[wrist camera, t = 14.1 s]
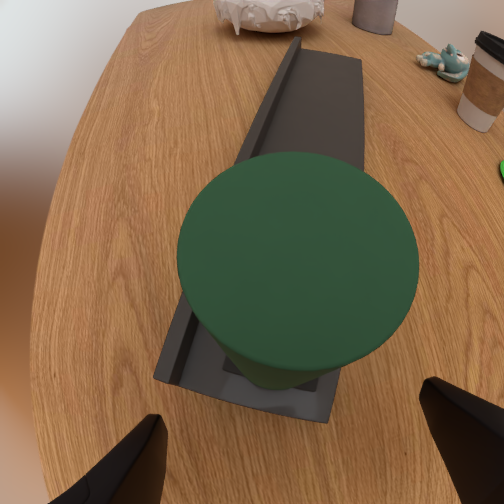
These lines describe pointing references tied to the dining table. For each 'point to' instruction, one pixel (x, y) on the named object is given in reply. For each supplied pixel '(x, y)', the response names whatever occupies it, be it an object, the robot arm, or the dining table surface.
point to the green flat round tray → (502, 168)
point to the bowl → (269, 14)
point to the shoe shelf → (256, 144)
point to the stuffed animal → (447, 63)
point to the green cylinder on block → (296, 266)
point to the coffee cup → (484, 84)
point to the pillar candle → (375, 15)
